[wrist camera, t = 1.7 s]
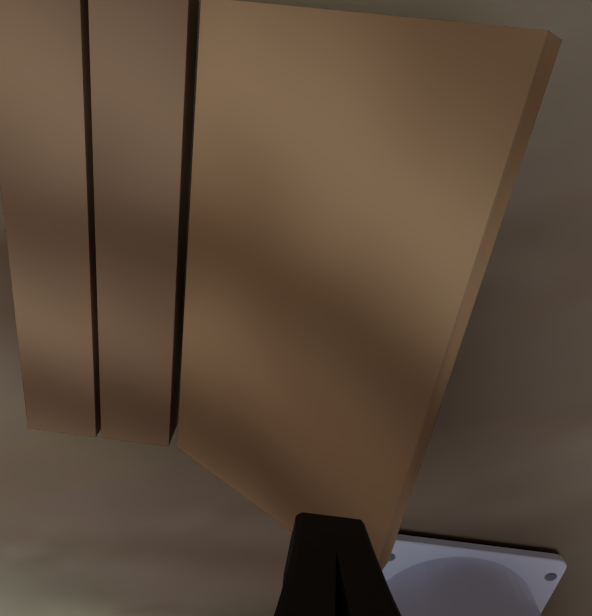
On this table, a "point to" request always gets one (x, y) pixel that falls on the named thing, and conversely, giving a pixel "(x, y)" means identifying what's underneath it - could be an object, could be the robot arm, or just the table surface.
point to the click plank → (341, 243)
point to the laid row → (98, 207)
